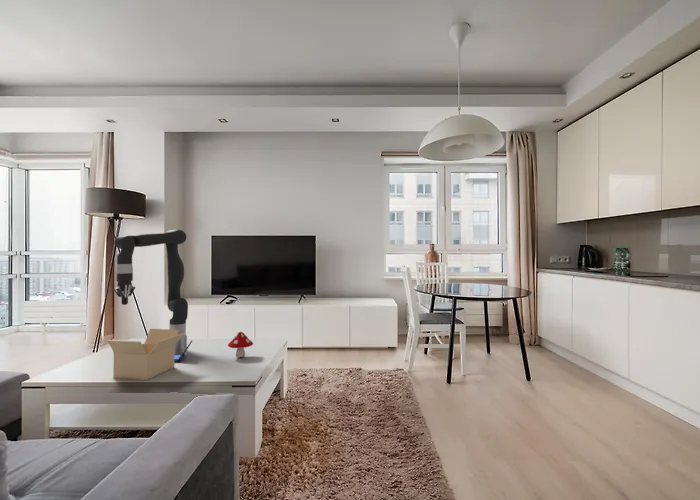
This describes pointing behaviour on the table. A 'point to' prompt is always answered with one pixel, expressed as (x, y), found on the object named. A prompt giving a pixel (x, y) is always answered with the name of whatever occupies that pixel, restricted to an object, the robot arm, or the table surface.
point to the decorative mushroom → (240, 344)
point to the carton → (142, 356)
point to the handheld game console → (180, 355)
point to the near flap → (166, 343)
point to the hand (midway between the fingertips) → (124, 304)
